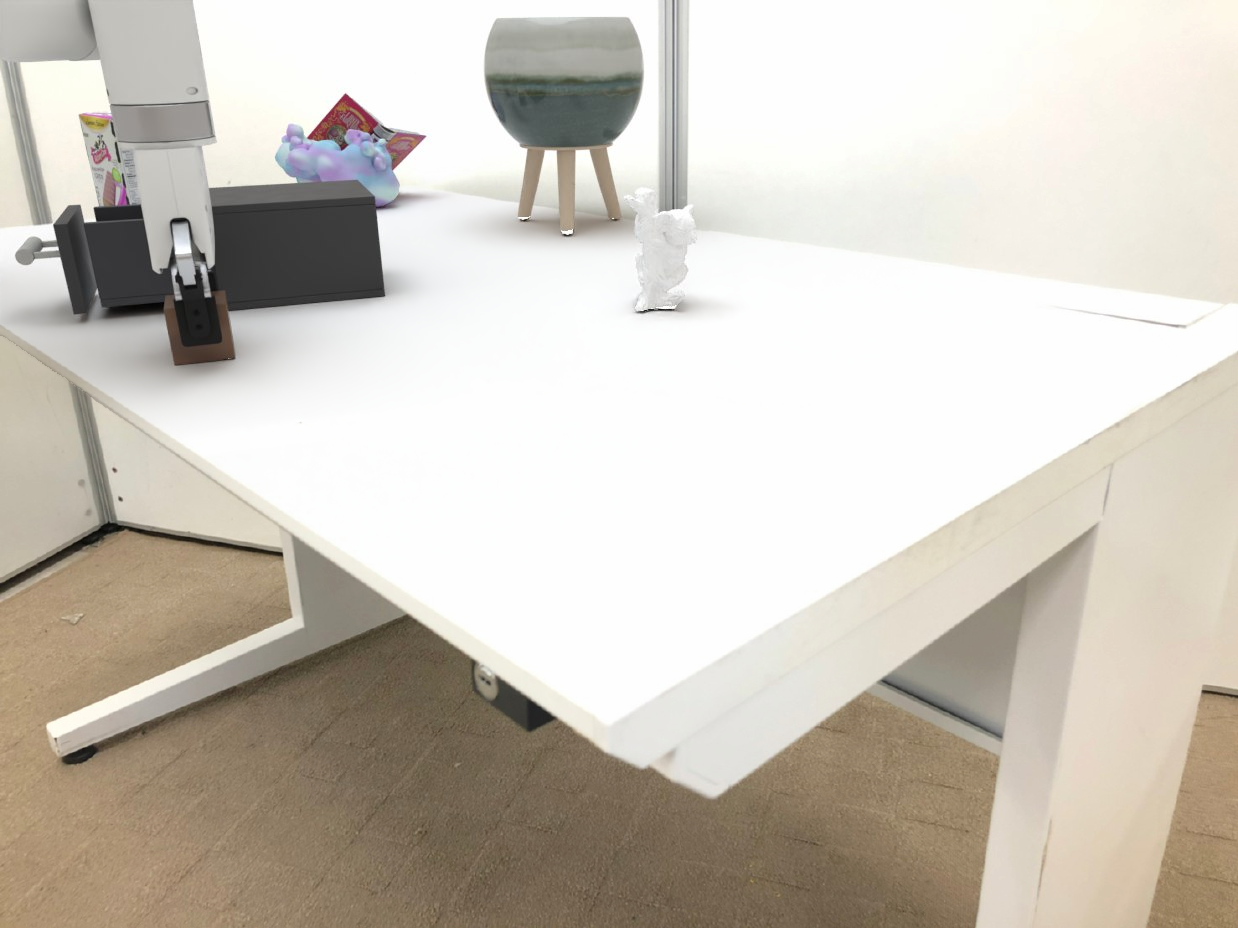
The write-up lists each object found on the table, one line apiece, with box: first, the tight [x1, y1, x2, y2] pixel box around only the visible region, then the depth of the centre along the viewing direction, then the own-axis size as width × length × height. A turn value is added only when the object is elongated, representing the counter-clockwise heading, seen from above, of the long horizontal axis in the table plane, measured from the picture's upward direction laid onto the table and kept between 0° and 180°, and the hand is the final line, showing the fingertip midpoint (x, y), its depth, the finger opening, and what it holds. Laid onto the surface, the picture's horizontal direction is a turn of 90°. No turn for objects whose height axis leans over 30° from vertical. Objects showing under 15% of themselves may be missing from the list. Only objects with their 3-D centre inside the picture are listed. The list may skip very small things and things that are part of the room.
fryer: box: [209, 180, 386, 312], centre depth 109 cm, size 17×14×11 cm
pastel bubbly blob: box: [274, 92, 427, 208], centre depth 163 cm, size 20×22×18 cm
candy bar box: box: [78, 111, 141, 206], centre depth 137 cm, size 11×5×16 cm, turn 46°
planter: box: [483, 16, 645, 231], centre depth 141 cm, size 22×22×28 cm
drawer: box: [14, 204, 219, 316], centre depth 104 cm, size 20×12×9 cm, turn 111°
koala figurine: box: [622, 186, 698, 312], centre depth 101 cm, size 8×7×12 cm
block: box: [163, 291, 236, 366], centre depth 88 cm, size 5×5×5 cm
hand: (203, 329), depth 88 cm, fingers open, 9 cm apart
